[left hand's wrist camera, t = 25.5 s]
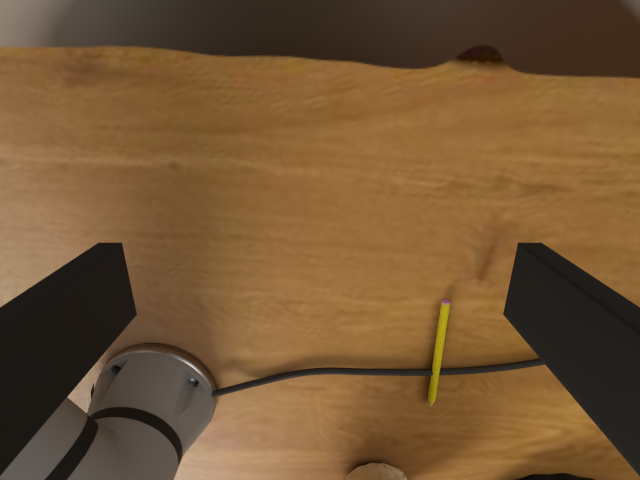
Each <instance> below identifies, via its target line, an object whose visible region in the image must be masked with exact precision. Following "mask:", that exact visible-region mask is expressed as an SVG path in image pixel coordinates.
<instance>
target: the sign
mask: <svg viewBox="0 0 640 480" xmlns="http://www.w3.org/2000/svg"><path fill="white" fill-rule="evenodd" d="M521 480H593V479H585V478H579V477H576V476H573V475H569V474H559V475H552V476H548V475H534V476H530V477H527V478H524V479H521Z"/></svg>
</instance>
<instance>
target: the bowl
mask: <svg viewBox="0 0 640 480" xmlns="http://www.w3.org/2000/svg"><path fill="white" fill-rule="evenodd" d="M344 480H407V478H406V476H405V475H404V473H403V472H402V471H401V470H399V469H397V468H395V467H393V466H390V465H387V464H385V463H380V464H379V463H369V464H367V465H362V466H359V467H357V468H356V469H354V470H353V471H352V472H351V473H349V474H348V475H347V476H346V477H345V478H344Z"/></svg>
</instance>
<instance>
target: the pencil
mask: <svg viewBox="0 0 640 480" xmlns="http://www.w3.org/2000/svg"><path fill="white" fill-rule="evenodd" d="M449 308H450V300H448V299H442V302H441V309H440V316H439V323H438V330H437V337H436V344H435V351H434V358H433V365H432V372H433V375H431V379H430V386H429V393H428V401H429V405H430V407H431V406H432V404H433V403H434V402H435V399H436V392H437V386H438V379H439V373H440V366H441V360H442V353H443V347H444V340H445V334H446V327H447V321H448V314H449Z"/></svg>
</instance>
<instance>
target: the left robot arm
mask: <svg viewBox="0 0 640 480" xmlns="http://www.w3.org/2000/svg"><path fill="white" fill-rule="evenodd" d="M136 315H137V313H136V309H135V304H134V299H133V294H132V290H131V285H130V280H129V275H128V270H127V266H126V261H125V256H124V251H123V246H122V243H98V244H96V245H95V246H93V247H92V248H90V249H88V250H87V251H85V252H84V253H82V254H81V255H79V256H78V257H76V258H75V259H73V260H72V261H70V262H69V263H67V264H66V265H64V266H63V267H61V268H60V269H58V270H57V271H55V272H54V273H52V274H50V275H49V276H47V277H46V278H44V279H43V280H41V281H40V282H38V283H37V284H35V285H34V286H32V287H31V288H29V289H28V290H26V291H25V292H23V293H22V294H20V295H19V296H17V297H15V298H14V299H12V300H11V301H9V302H8V303H6V304H5V305H3V306H2V307H0V480H174V477H175V475H176V472H177V469H178V466H179V464H180V461H181V459H182V457H183V455H184V454H185V453H186V452H187V450H188V449H189V448H190V447H191V445H192V444H193V443H194V442H195V440H196V439H197V438H198V437H199V435H200V434H201V433H202V432H203V431H204V429H205V428H206V427H207V426H208V424H209V423H210V421H211V419H212V417H213V414H214V411H215V408H216V405H217V401H218V396H220V395H224V394H228V393H232V392H236V391H240V390H243V389H247V388H251V387H255V386H259V385H263V384H267V383H271V382H275V381H280V380H284V379H289V378H294V377H300V376H307V375H318V374H348V375H398V376H428V375H433V372H432V369H356V368H314V369H304V370H297V371H292V372H286V373H282V374H278V375H274V376H270V377H266V378H262V379H257V380H253V381H249V382H245V383H241V384H238V385H234V386H230V387H226V388H222V389H217V385H216V382H215V380H214V378H213V376H212V374H211V373H210V371H209V370H208V368H207V367H206V366H205V365H204V364H203V363H202V362H201V361H199V360H198V359H197V358H196V357H194V356H193V355H191V354H189V353H188V352H186V351H183V350H181V349H179V348H176V347H173V346H169V345H164V344H153V343H152V344H140V345H135V346H132V347H129V348H126V349H124V350H122V351H121V352H119V353H118V354H116V355H115V356H114V357H113V358H112V359H111V360H110V361H109V363H108V364H107V365H106V366H105V368H104V369H103V370H102V372H101V373H100V375H99V377H98V380H97V382H96V386H95V389H94V384H93V387H92V390H91V402H90V405H89V409H88V412H87V413H85V412H84V411H83V410H82V409H81V408H79V407H78V406H77V405H76V404H75V403H73V402H72V401H71V400H70V399H68V398H67V396H68V395H69V394H70V393H71V392H72V390H73V389H74V388H75V387H76V386H77V385H78V383H79V382H80V381H81V380H82V379H83V377H84V376H85V375H86V374H87V373H88V372H89V370H90V369H91V368H92V367H93V366H94V364H95V363H96V362H97V361H98V360H99V359H100V357H101V356H102V355H103V354H104V353H105V351H106V350H107V349H108V348H109V347H110V345H111V344H112V343H113V342H114V341H115V340H116V338H117V337H118V336H119V335H120V334H121V332H122V331H123V330H124V329H125V328H126V327H127V325H128V324H129V323H130V322H131V321H132V319H133V318H134V317H135V316H136ZM503 315H504V316H505V317H506V318H507V319H508V321H509V322H510V323H511V324H512V325H513V327H514V328H515V329H516V330H517V331H518V332H519V334H520V335H521V336H522V337H523V338H524V340H525V341H526V342H527V343H528V344H529V345H530V347H531V348H532V349H533V350H534V351H535V353H536V354H537V355H538V356H539V357H540V359H534V360H528V361H522V362H515V363H508V364H500V365H491V366H480V367H468V368H449V369H440V373H439V375H458V374H474V373H486V372H496V371H505V370H513V369H520V368H526V367H533V366H539V365H545V364H546V366H547V367H548V368H549V369H550V370H551V372H552V373H553V374H554V375H555V376H556V377H557V379H558V380H559V381H560V382H561V383H562V385H563V386H564V387H565V388H566V389H567V390H568V392H569V393H570V394H571V395H572V396H573V398H574V399H575V400H576V401H577V402H578V404H579V405H580V406H581V407H582V408H583V409H584V411H585V412H586V413H587V414H588V415H589V417H590V418H591V419H592V420H593V421H594V422H595V424H596V425H597V426H598V427H599V428H600V430H601V431H602V432H603V433H604V434H605V436H606V437H607V438H608V439H609V440H610V441H611V443H612V444H613V445H614V446H615V447H616V449H617V450H618V451H619V452H620V453H621V454H622V456H623V457H624V458H625V459H626V460H627V462H628V463H629V464H630V465H631V466H632V467H633V469H634V470H635V471H636V472H637V473H638V475H639V476H640V307H638V306H637V305H635V304H634V303H632V302H631V301H629V300H628V299H626V298H625V297H623V296H621V295H620V294H618V293H617V292H615V291H614V290H612V289H611V288H609V287H608V286H606V285H605V284H603V283H602V282H600V281H599V280H597V279H596V278H594V277H593V276H591V275H590V274H588V273H586V272H585V271H583V270H582V269H580V268H579V267H577V266H576V265H574V264H573V263H571V262H570V261H568V260H567V259H565V258H564V257H562V256H561V255H559V254H558V253H556V252H555V251H553V250H552V249H550V248H548V247H547V246H545V245H544V244H542V243H518V246H517V251H516V256H515V261H514V266H513V270H512V275H511V280H510V285H509V290H508V294H507V299H506V304H505V309H504V313H503Z"/></svg>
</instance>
